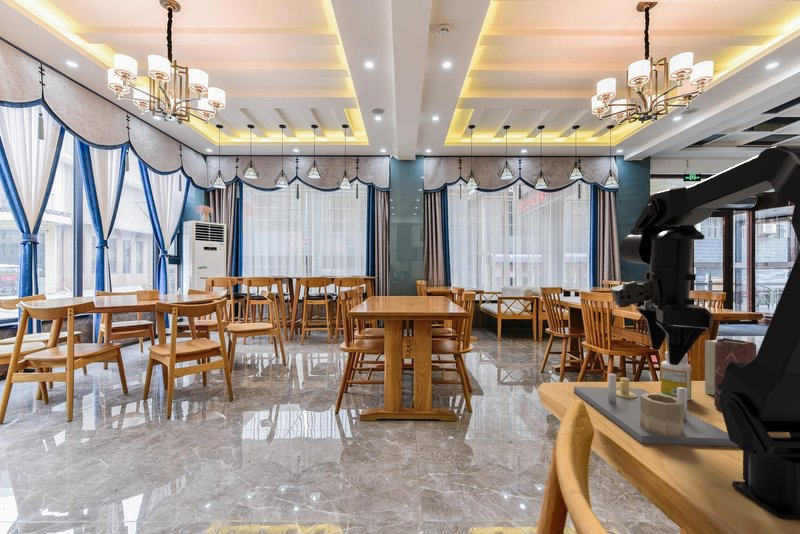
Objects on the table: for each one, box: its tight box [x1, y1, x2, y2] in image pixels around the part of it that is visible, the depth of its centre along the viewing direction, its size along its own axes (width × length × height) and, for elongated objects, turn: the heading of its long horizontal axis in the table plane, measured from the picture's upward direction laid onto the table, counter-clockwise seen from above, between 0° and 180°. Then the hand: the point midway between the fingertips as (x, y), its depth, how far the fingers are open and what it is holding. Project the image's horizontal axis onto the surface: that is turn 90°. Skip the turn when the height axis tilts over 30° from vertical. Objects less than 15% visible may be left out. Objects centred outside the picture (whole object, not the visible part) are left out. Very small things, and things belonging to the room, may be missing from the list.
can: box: [713, 338, 758, 412], centre depth 73 cm, size 6×6×14 cm
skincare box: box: [704, 339, 717, 396], centre depth 83 cm, size 6×4×12 cm
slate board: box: [573, 373, 739, 448], centre depth 71 cm, size 25×15×7 cm, turn 178°
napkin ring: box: [640, 392, 684, 436], centre depth 61 cm, size 6×6×5 cm
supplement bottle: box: [660, 350, 692, 402], centre depth 81 cm, size 5×5×10 cm
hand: (664, 356), depth 64 cm, fingers open, 9 cm apart
